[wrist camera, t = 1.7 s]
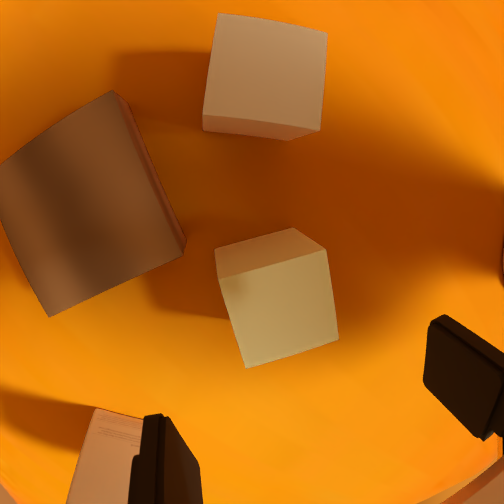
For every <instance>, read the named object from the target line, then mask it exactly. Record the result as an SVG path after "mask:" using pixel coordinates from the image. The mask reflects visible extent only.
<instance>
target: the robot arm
mask: <svg viewBox="0 0 504 504" xmlns="http://www.w3.org/2000/svg"><path fill="white" fill-rule="evenodd" d="M503 272H504V250H503ZM423 383H424V385H425V387H426V388H427V389H428V390H429V391H430V392H431V393H432V394H433V395H434V396H435V397H436V398H437V399H438V400H439V401H440V402H441V403H442V404H443V405H444V406H445V407H446V408H447V409H448V410H449V411H450V412H451V413H452V414H453V415H454V416H455V417H456V418H457V419H458V420H459V421H460V422H461V423H462V424H463V425H464V426H465V427H466V428H467V429H468V430H469V431H470V433H471V434H472V435H473V436H475V437H476V438H480V439H481V440H482V441H483V442H484V441H485V440H486V439H487V438H489V437H490V436H491V435H492V434H493V433H494V432H495V433H496V434H497V435H498V457H497V462H495V463H494V464H493V465H492V466H491V467H489V468H488V469H487V470H486V471H484V472H483V473H482V474H481V475H479V476H478V477H477V478H476V479H474V480H473V481H472V482H471V483H469V484H468V485H466V486H465V487H464V488H462V489H461V490H459V491H458V492H457V493H455V494H454V495H453V496H451V497H449V498H448V499H446V500H445V501H443V502H442V503H440V504H504V353H503V352H501V351H500V350H498V349H497V348H495V347H494V346H493V345H491V344H490V343H488V342H487V341H485V340H484V339H482V338H481V337H479V336H478V335H476V334H475V333H473V332H472V331H470V330H469V329H467V328H466V327H464V326H463V325H461V324H460V323H458V322H457V321H455V320H454V319H452V318H451V317H449V316H448V315H445V314H443V315H441V316H439V317H437V318H436V319H434V320H432V321H431V322H430V326H429V327H428V332H427V345H426V356H425V366H424V374H423ZM128 504H203V497H202V487H201V476H200V467H199V464H198V461H197V460H196V458H195V457H194V455H193V454H192V452H191V451H190V449H189V448H188V446H187V445H186V443H185V442H184V440H183V438H182V437H181V435H180V434H179V432H178V431H177V429H176V427H175V426H174V424H173V422H172V421H171V419H170V418H169V417H168V416H167V417H164V416H163V414H161V413H159V414H154V415H148V416H145V417H144V419H143V426H142V434H141V442H140V451H139V454H137V455H134V457H133V459H132V465H131V473H130V483H129V493H128Z"/></svg>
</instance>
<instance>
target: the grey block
mask: <svg viewBox="0 0 504 504" xmlns="http://www.w3.org/2000/svg"><path fill="white" fill-rule="evenodd" d="M327 34H328V33H326V32H322V31H318V30H314V29H310V28H306V27H302V26H297V25H293V24H288V23H283V22H278V21H273V20H267V19H261V18H255V17H248V16H241V15H232V14H223V13H218V17H217V22H216V28H215V33H214V39H213V45H212V51H211V57H210V63H209V70H208V76H207V83H206V90H205V97H204V105H203V112H202V123H203V131H208V132H219V133H229V134H239V135H248V136H256V137H263V138H271V139H278V140H285V141H289V140H292V139H295V138H298V137H301V136H305V135H308V134H311V133H314V132H318V131H320V126H321V116H322V105H323V93H324V81H325V67H326V52H327Z"/></svg>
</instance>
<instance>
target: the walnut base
mask: <svg viewBox="0 0 504 504" xmlns="http://www.w3.org/2000/svg"><path fill="white" fill-rule="evenodd" d="M0 220H1V222H2V225H3V227H4V230H5V232H6V235H7V237H8V239H9V242H10V244H11V246H12V248H13V251H14V253H15V255H16V257H17V259H18V261H19V263H20V265H21V267H22V270H23V272H24V274H25V275H26V277H27V279H28V281H29V283H30V285H31V287H32V289H33V291H34V293H35V294H36V296H37V298H38V300H39V302H40V303H41V305H42V307H43V309H44V310H45V312H46V314H47V315H48V317H51V316H53V315H56V314H58V313H60V312H62V311H64V310H66V309H68V308H70V307H72V306H74V305H76V304H79V303H81V302H83V301H85V300H87V299H89V298H91V297H93V296H95V295H98V294H100V293H102V292H104V291H106V290H108V289H110V288H113V287H115V286H117V285H119V284H121V283H123V282H126V281H128V280H130V279H132V278H134V277H137V276H139V275H141V274H143V273H145V272H147V271H150V270H152V269H154V268H156V267H159V266H161V265H163V264H165V263H167V262H170V261H172V260H174V259H176V258H179V257H181V256H183V253H184V249H185V245H186V241H187V240H186V238H185V236H184V234H183V231H182V229H181V227H180V225H179V223H178V220H177V218H176V216H175V214H174V212H173V209H172V207H171V205H170V203H169V200H168V198H167V196H166V194H165V191H164V189H163V187H162V184H161V182H160V180H159V178H158V175H157V173H156V171H155V168H154V166H153V164H152V161H151V159H150V156H149V154H148V152H147V149H146V147H145V144H144V142H143V139H142V137H141V135H140V132H139V130H138V127H137V125H136V122H135V120H134V117H133V115H132V112H131V109H130V107H129V104H128V103H127V102H126V101H125V100H124V99H123V98H121V97H120V96H119V95H118V94H117V93H115V92H114V91H113V90H111V91H110V92H108V93H106V94H104V95H102V96H100V97H99V98H97V99H95V100H93V101H92V102H90V103H88V104H86V105H85V106H83V107H81V108H80V109H78V110H76V111H75V112H73V113H71V114H70V115H68V116H67V117H65V118H64V119H62V120H60V121H59V122H57V123H56V124H54V125H53V126H51V127H50V128H48V129H47V130H46V131H44V132H43V133H41V134H40V135H38V136H37V137H36V138H34V139H33V140H31V141H30V142H29V143H27V144H26V145H25V146H23V147H22V148H21V149H20V150H18V151H17V152H16V153H14V154H13V155H12V156H11V157H9V158H8V159H7V160H6V161H4V162H3V163H2V164H1V165H0Z"/></svg>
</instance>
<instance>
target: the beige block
mask: <svg viewBox="0 0 504 504" xmlns="http://www.w3.org/2000/svg"><path fill="white" fill-rule="evenodd" d="M214 253H215V261H216V269H217V276H218V282H219V285H220V288H221V292H222V295H223V298H224V301H225V305H226V308H227V311H228V314H229V318H230V321H231V324H232V327H233V330H234V334H235V337H236V340H237V343H238V346H239V349H240V352H241V355H242V359H243V362H244V365H245V368H246V369H247V368H250V367H254V366H258V365H261V364H265V363H268V362H272V361H275V360H278V359H282V358H285V357H288V356H291V355H294V354H298V353H301V352H304V351H307V350H310V349H313V348H316V347H319V346H322V345H325V344H328V343H330V342H333V341H336V340H339V335H338V327H337V319H336V311H335V304H334V297H333V290H332V283H331V276H330V270H329V264H328V257H327V251H326V249H325V248H324V247H322V246H321V245H319V244H318V243H316V242H315V241H313V240H312V239H310V238H309V237H307V236H306V235H304V234H303V233H301V232H300V231H298V230H297V229H295V228H294V227H293V228H289V229H285V230H281V231H278V232H274V233H270V234H266V235H263V236H259V237H255V238H252V239H248V240H244V241H241V242H237V243H233V244H230V245H226V246H222V247H219V248H215V249H214Z"/></svg>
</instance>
